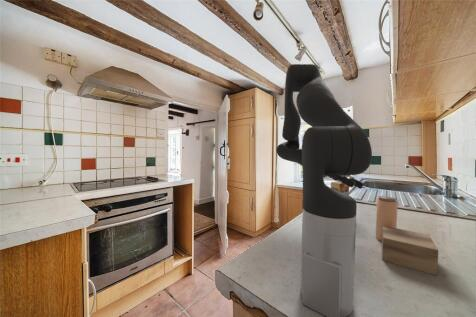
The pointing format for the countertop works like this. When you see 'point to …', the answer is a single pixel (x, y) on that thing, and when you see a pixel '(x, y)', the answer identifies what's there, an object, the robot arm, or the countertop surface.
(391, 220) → the canister
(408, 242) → the pedestal
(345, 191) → the candy box
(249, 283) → the countertop surface
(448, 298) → the countertop surface
